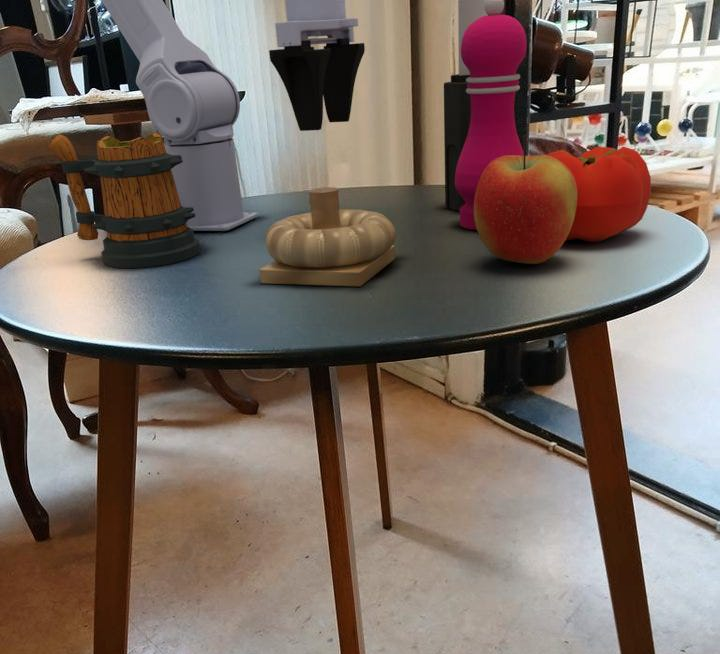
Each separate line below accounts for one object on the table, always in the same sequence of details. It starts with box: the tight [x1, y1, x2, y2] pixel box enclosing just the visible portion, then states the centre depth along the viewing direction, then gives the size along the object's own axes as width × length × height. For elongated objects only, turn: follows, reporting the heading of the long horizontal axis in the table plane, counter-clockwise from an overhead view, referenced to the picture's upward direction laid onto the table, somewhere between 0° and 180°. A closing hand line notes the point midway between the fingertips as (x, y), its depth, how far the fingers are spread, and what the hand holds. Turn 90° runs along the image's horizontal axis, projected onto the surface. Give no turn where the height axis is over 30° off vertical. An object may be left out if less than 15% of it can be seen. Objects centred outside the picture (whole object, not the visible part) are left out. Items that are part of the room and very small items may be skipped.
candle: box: [443, 0, 487, 213], centre depth 81 cm, size 5×5×25 cm
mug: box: [48, 132, 201, 269], centre depth 74 cm, size 13×10×12 cm
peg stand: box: [259, 186, 396, 288], centre depth 65 cm, size 9×9×7 cm
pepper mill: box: [455, 0, 528, 231], centre depth 74 cm, size 7×7×20 cm
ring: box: [264, 209, 397, 268], centre depth 66 cm, size 11×11×3 cm
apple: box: [474, 134, 577, 265], centre depth 62 cm, size 8×8×10 cm
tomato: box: [546, 146, 652, 243], centre depth 70 cm, size 11×11×8 cm
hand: (325, 125), depth 79 cm, fingers open, 7 cm apart
